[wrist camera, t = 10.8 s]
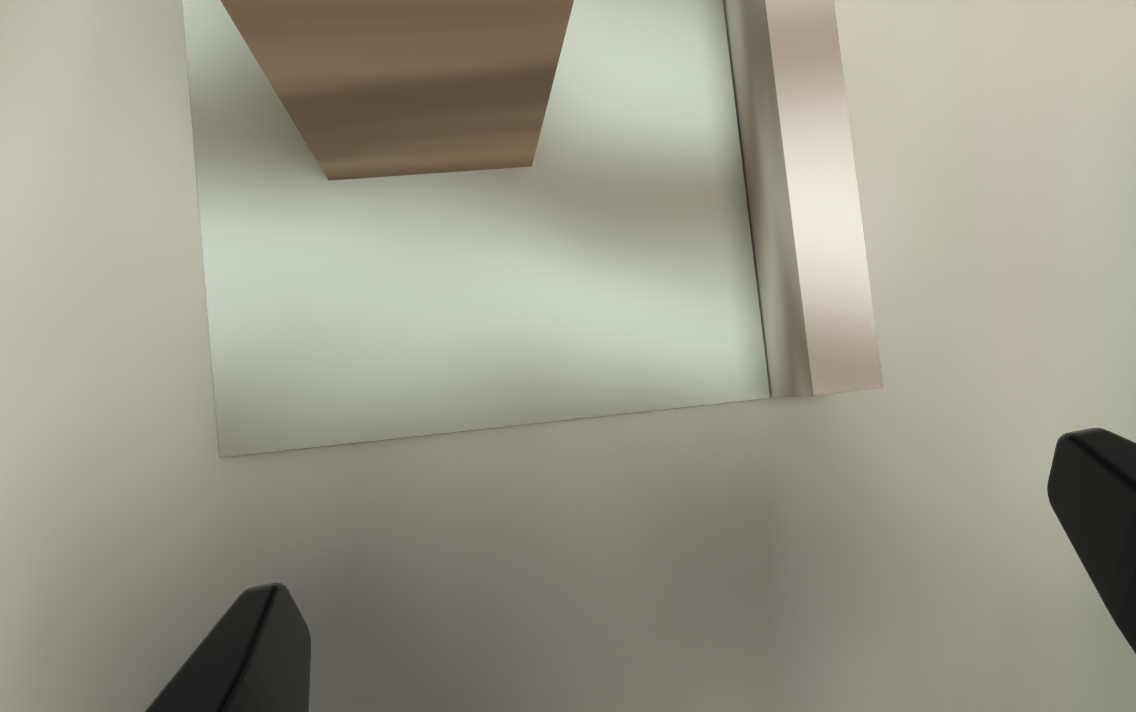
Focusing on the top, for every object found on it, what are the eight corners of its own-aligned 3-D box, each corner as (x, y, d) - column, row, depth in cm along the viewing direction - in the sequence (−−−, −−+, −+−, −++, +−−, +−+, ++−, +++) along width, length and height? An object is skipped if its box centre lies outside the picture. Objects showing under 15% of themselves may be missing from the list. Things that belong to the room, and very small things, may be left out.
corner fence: (830, 391, 19) (882, 387, 17) (222, 456, 18) (182, 464, 15) (762, -160, 20) (803, -239, 18) (172, -147, 19) (126, -234, 16)
